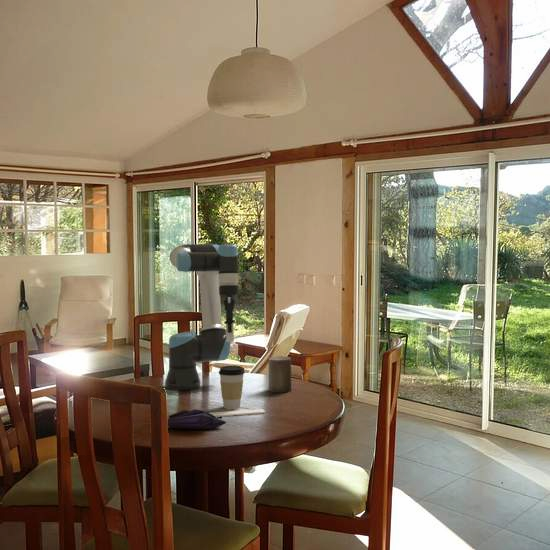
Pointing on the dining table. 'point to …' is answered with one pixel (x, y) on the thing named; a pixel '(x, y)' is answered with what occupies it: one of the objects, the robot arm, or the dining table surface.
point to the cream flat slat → (238, 412)
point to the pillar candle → (279, 374)
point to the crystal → (194, 420)
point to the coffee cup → (231, 385)
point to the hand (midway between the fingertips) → (230, 340)
